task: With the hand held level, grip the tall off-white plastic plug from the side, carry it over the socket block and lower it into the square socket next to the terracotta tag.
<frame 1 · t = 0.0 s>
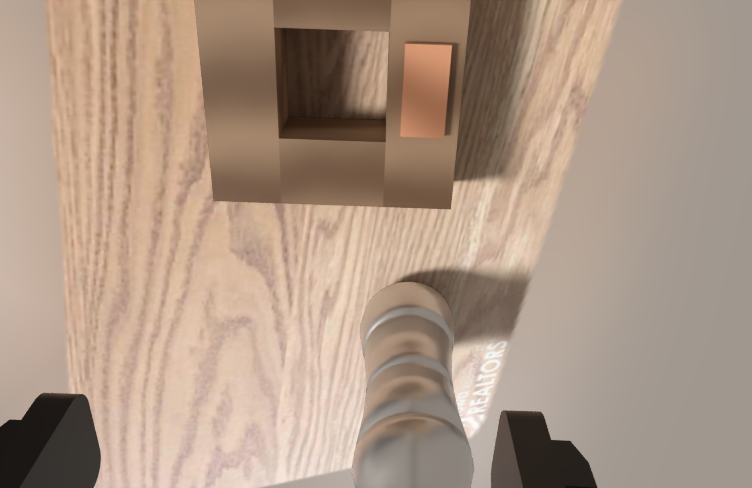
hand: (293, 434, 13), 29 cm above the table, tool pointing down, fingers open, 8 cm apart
socket block: (337, 69, 38), on the table
plastic bottle: (405, 308, 47), on the table
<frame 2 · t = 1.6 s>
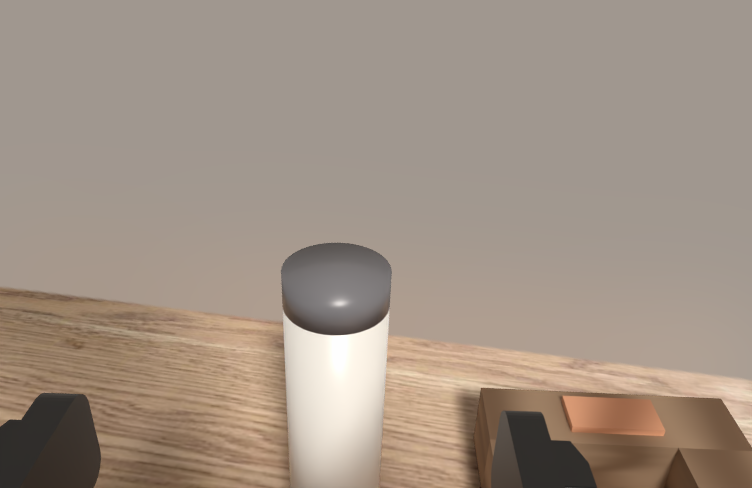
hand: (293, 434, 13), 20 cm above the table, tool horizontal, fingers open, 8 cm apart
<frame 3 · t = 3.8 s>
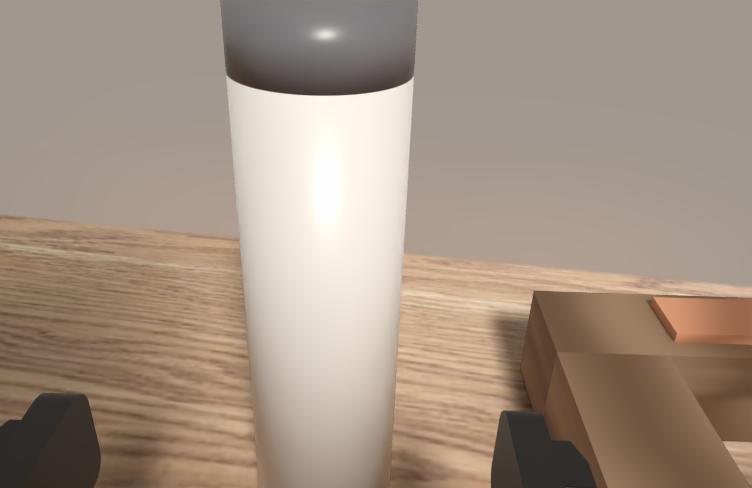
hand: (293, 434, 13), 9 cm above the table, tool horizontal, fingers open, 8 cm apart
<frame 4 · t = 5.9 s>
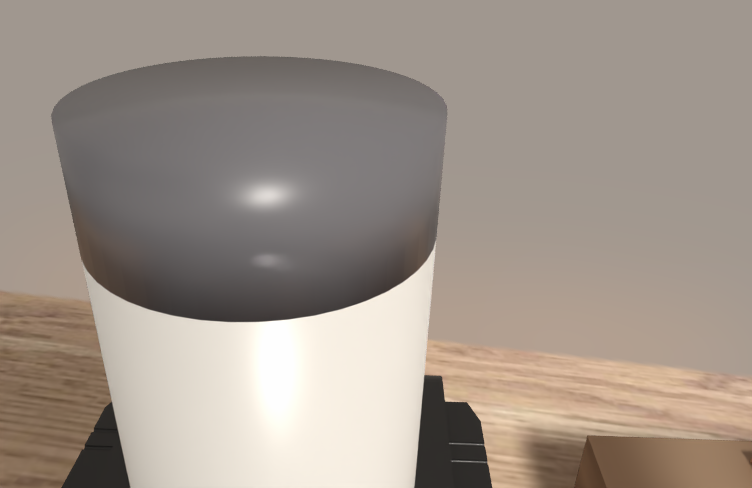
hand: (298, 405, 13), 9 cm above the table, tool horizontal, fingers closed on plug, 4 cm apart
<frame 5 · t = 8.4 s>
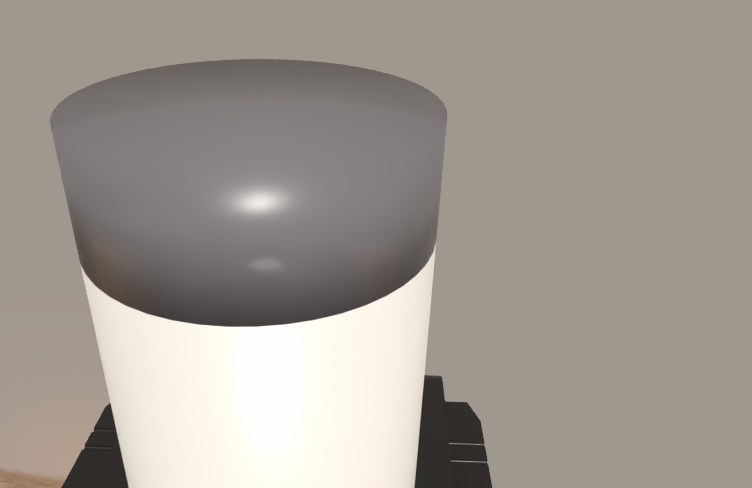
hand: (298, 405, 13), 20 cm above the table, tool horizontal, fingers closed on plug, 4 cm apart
when the fingers open (10 cm above the table, at t = 11.1 s): plug drops 1 cm, resting in socket block.
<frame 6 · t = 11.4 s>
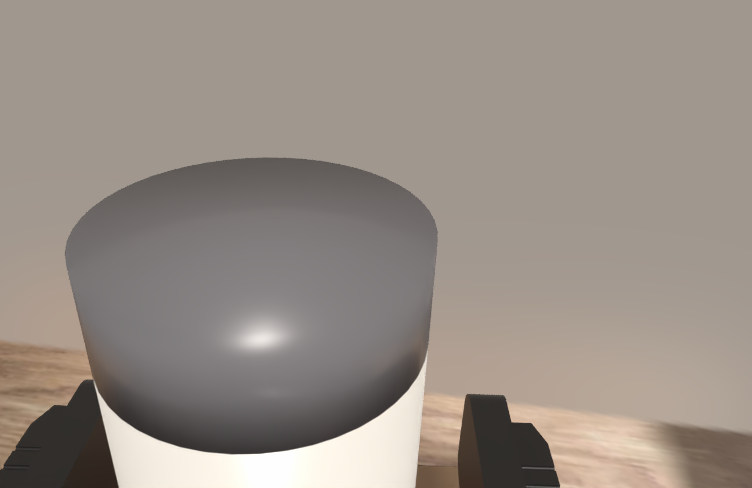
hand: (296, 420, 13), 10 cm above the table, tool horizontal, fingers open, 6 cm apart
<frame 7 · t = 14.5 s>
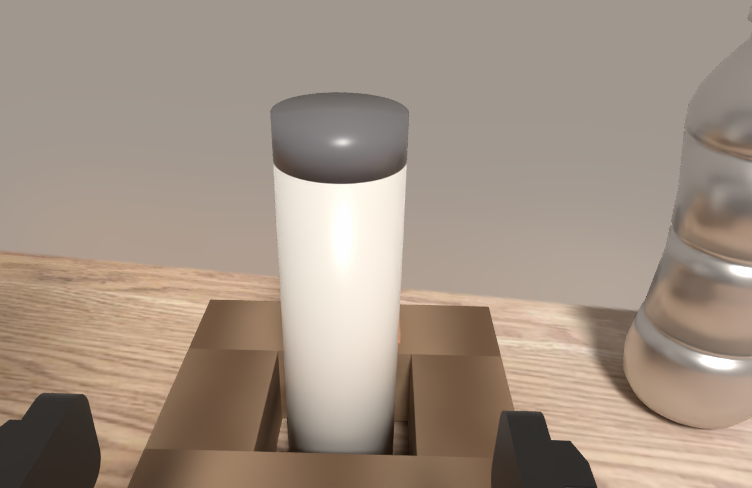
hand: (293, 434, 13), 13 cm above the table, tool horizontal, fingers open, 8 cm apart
plug: (341, 470, 28), resting in socket block
socket block: (341, 468, 28), on the table
plastic bottle: (683, 403, 33), on the table
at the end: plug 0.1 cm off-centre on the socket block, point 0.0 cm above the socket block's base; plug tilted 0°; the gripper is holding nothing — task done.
